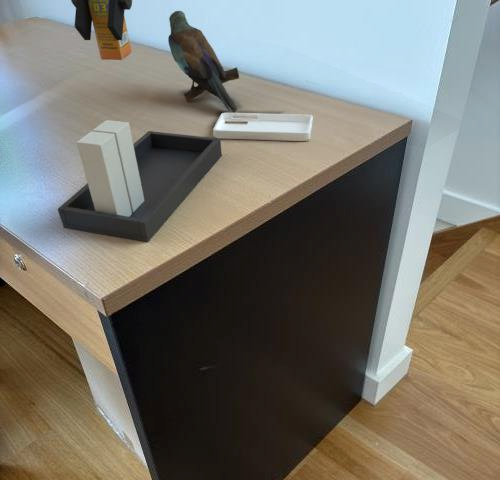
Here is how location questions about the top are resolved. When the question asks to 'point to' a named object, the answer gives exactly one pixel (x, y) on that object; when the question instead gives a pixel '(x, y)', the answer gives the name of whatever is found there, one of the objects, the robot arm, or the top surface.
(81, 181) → the top surface
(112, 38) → the supplement box
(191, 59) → the bird figurine
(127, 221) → the tray
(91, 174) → the white boxes
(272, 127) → the phone case
